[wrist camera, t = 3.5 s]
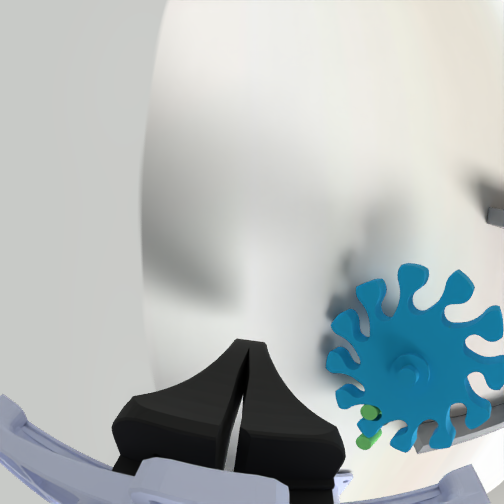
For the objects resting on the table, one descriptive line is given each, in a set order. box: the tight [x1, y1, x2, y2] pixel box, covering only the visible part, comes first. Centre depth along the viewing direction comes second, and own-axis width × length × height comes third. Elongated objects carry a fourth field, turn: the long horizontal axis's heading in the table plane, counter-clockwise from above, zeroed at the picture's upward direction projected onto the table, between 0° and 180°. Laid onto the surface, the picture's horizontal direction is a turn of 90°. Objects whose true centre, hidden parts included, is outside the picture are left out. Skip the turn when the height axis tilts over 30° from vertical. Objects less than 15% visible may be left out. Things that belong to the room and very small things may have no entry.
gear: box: [326, 263, 504, 453], centre depth 12 cm, size 11×6×10 cm
